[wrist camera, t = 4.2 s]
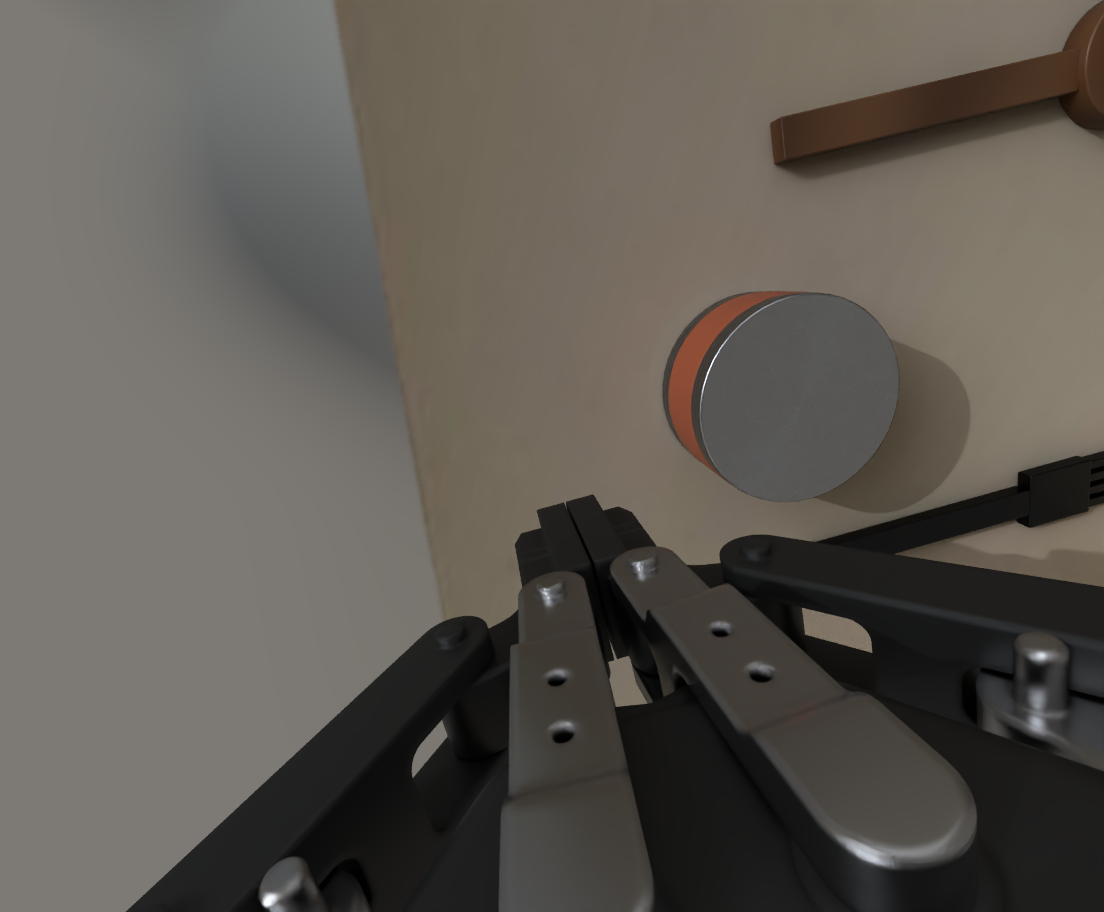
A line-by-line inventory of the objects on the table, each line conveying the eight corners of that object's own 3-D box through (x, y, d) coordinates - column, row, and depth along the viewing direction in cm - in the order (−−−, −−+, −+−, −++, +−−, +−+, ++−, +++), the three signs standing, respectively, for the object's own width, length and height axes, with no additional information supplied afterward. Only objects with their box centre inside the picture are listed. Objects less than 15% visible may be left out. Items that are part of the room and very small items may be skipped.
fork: (815, 579, 26) (824, 587, 26) (810, 529, 26) (819, 535, 25) (1135, 488, 27) (1152, 493, 27) (1140, 437, 27) (1157, 441, 26)
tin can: (646, 316, 22) (683, 322, 18) (824, 271, 23) (896, 268, 19) (676, 488, 24) (715, 526, 20) (838, 444, 25) (905, 473, 21)
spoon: (778, 208, 22) (793, 204, 21) (764, 75, 20) (780, 64, 19) (1157, 116, 23) (1190, 108, 22) (1168, -16, 21) (1204, -32, 20)
